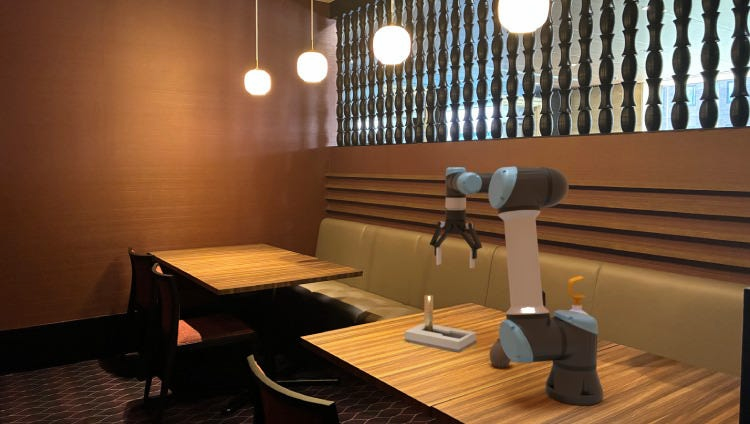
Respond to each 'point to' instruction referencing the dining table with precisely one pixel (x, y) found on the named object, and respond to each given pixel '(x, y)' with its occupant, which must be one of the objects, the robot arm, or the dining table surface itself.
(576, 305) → the soap bottle
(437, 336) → the board
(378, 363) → the dining table surface
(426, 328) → the peg
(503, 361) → the vase
